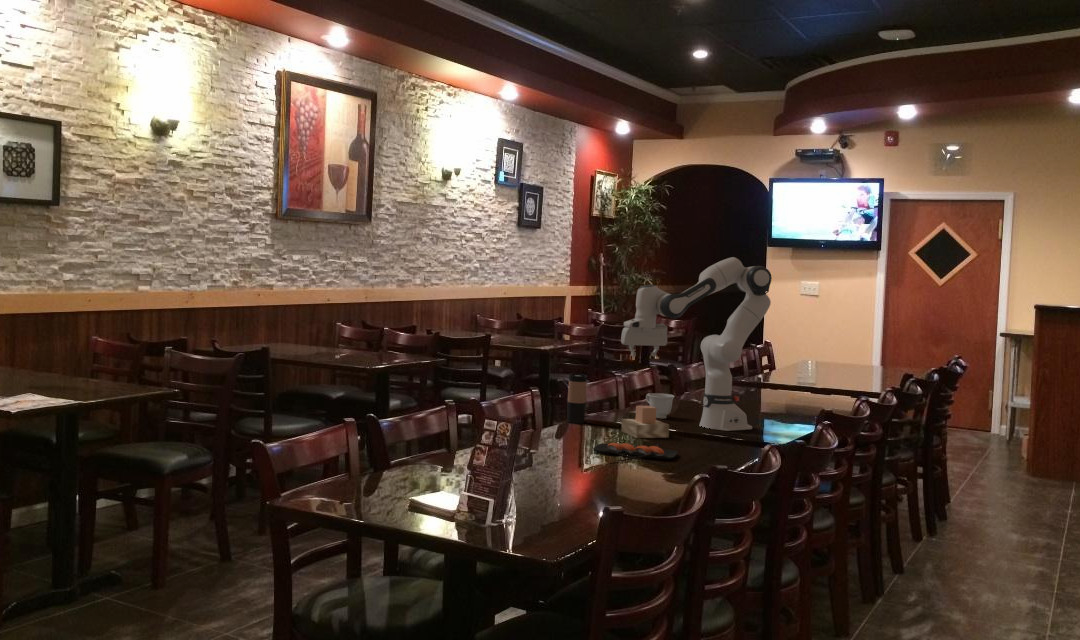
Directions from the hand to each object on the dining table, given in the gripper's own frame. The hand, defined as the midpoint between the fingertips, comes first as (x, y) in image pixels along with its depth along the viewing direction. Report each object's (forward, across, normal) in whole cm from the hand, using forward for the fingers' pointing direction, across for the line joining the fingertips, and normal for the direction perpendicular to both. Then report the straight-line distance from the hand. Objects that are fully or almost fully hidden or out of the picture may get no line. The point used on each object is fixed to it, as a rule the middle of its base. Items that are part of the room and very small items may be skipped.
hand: (643, 356), depth 398 cm
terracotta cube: (+24, +8, +21) cm, 33 cm away
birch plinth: (+29, +8, +21) cm, 37 cm away
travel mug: (+29, +26, -8) cm, 40 cm away
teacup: (+29, -18, -19) cm, 39 cm away
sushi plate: (+30, +34, +63) cm, 78 cm away
